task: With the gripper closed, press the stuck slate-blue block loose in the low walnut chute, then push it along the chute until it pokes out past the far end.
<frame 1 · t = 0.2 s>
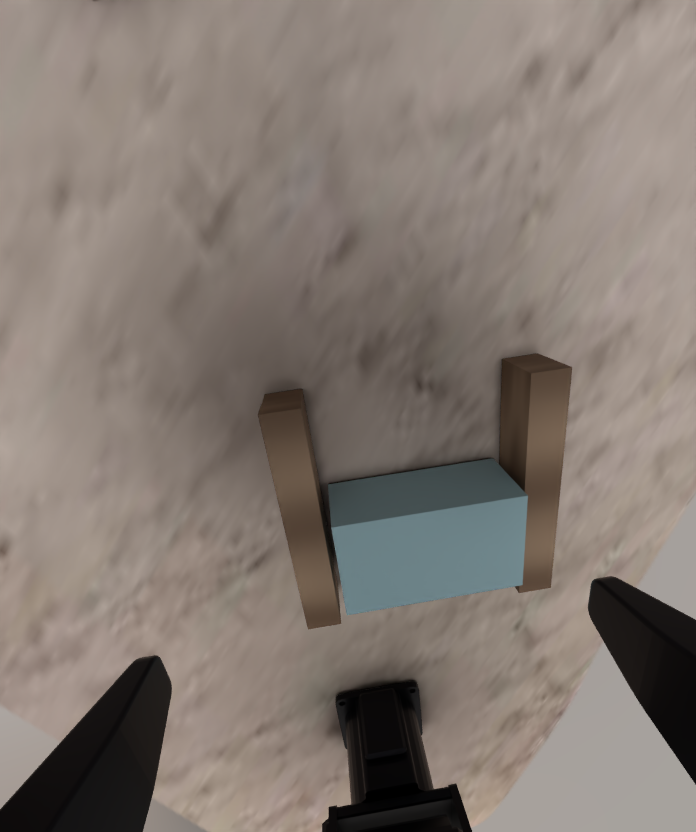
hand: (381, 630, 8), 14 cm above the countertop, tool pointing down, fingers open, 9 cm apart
walnut chute: (411, 483, 23), on the countertop
slate-blue block: (422, 533, 22), point 2 cm above the countertop, slide at 0.0 cm
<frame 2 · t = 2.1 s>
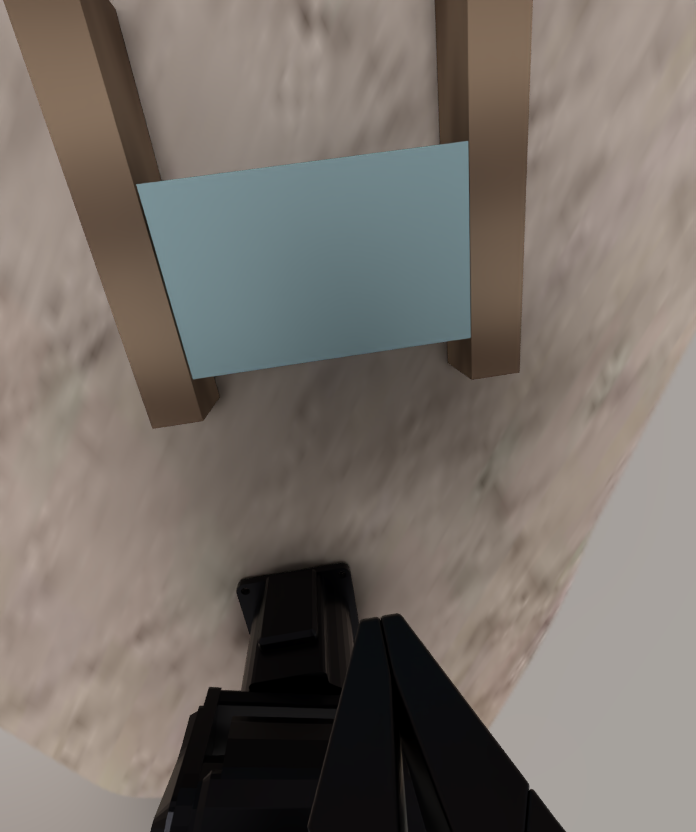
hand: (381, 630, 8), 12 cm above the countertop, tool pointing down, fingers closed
walnut chute: (310, 216, 16), on the countertop
slate-blue block: (319, 268, 14), point 2 cm above the countertop, slide at 0.0 cm
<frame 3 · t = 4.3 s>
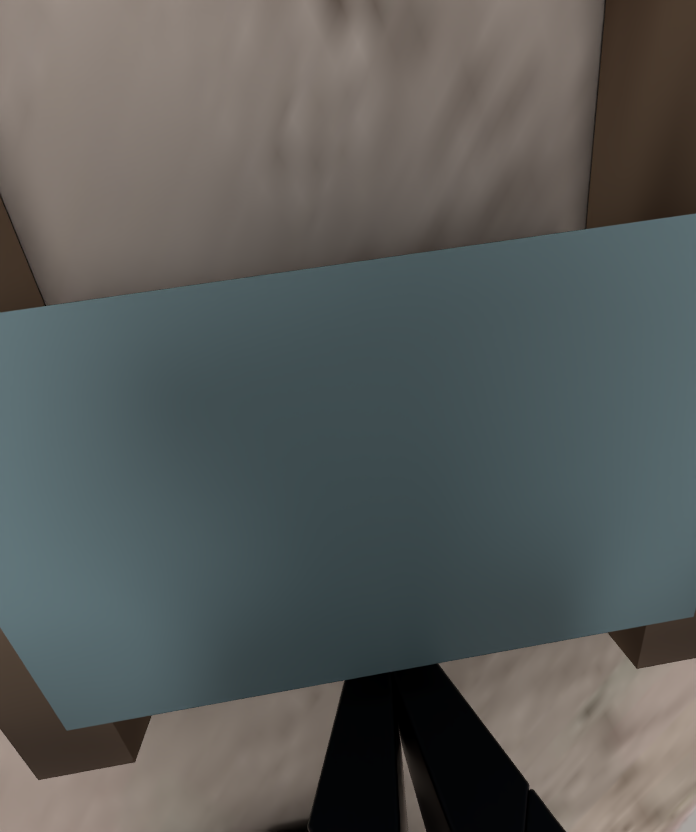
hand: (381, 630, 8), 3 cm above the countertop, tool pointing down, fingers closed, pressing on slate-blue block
walnut chute: (337, 366, 8), on the countertop
slate-blue block: (352, 446, 7), point 2 cm above the countertop, slide at 1.1 cm, touching gripper
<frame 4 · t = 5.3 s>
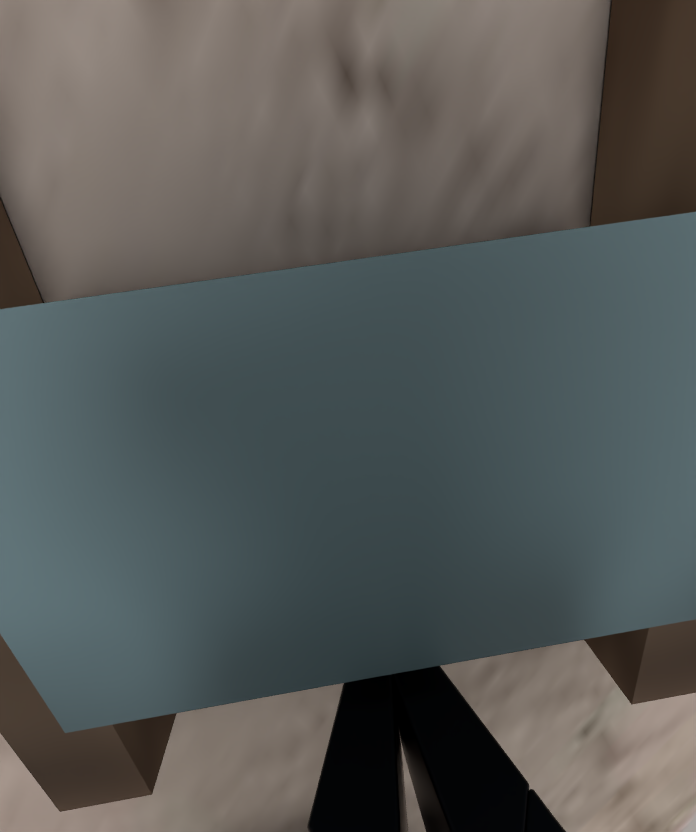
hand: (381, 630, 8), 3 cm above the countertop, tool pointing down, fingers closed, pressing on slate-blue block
walnut chute: (345, 414, 9), on the countertop
slate-blue block: (354, 446, 7), point 2 cm above the countertop, slide at 2.3 cm, touching gripper
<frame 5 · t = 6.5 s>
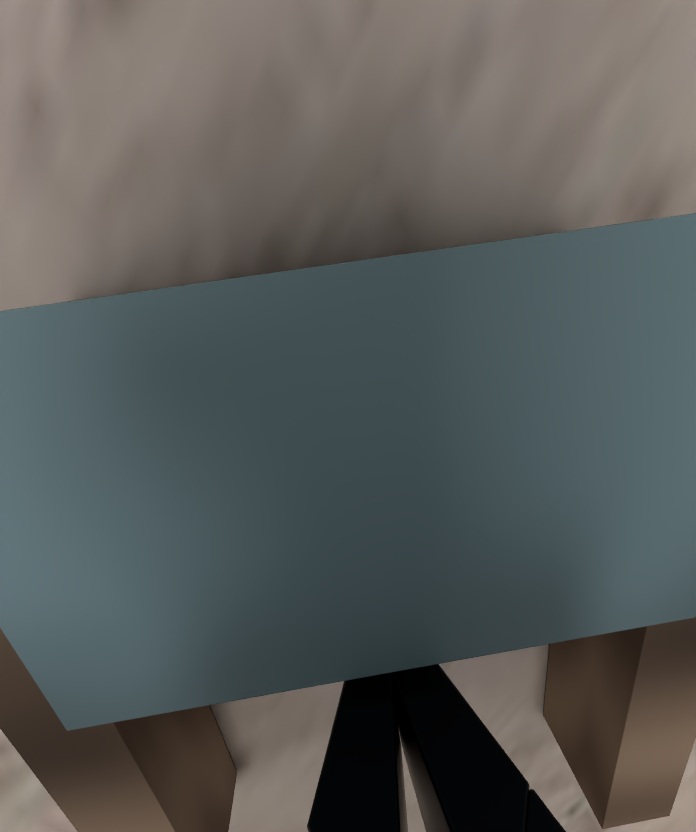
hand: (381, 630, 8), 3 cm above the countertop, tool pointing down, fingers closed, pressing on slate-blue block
walnut chute: (371, 595, 11), on the countertop
slate-blue block: (353, 446, 7), point 2 cm above the countertop, slide at 7.9 cm, touching gripper
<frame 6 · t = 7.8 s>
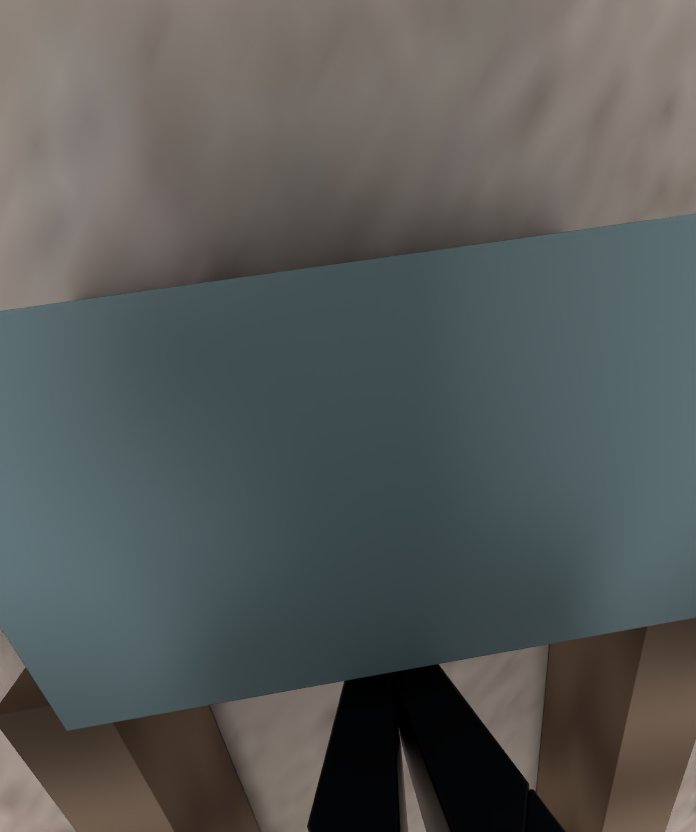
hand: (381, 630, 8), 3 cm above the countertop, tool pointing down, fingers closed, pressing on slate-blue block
walnut chute: (387, 710, 13), on the countertop
slate-blue block: (353, 446, 7), point 2 cm above the countertop, slide at 13.0 cm, touching gripper
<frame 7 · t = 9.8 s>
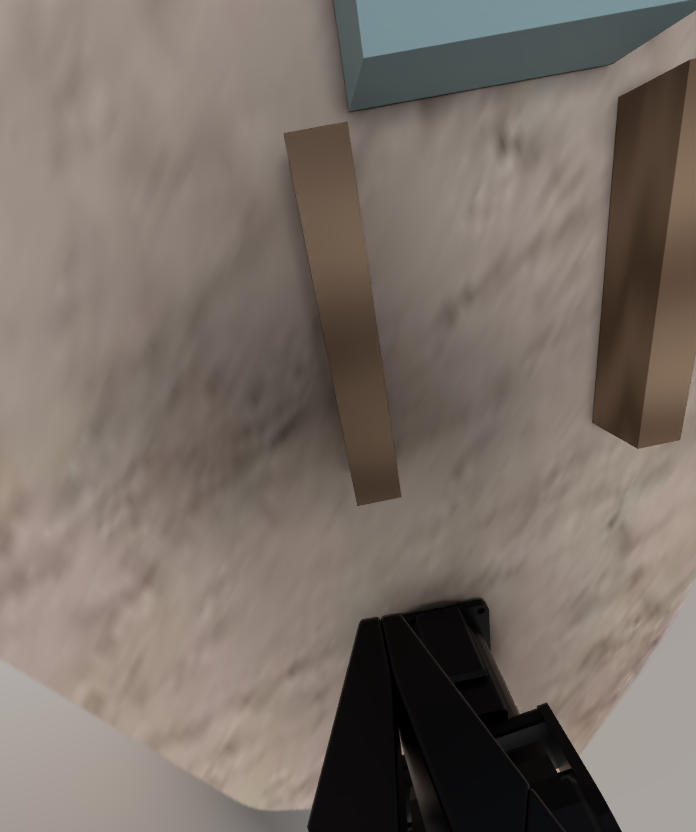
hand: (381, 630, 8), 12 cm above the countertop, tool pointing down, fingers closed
walnut chute: (486, 307, 17), on the countertop
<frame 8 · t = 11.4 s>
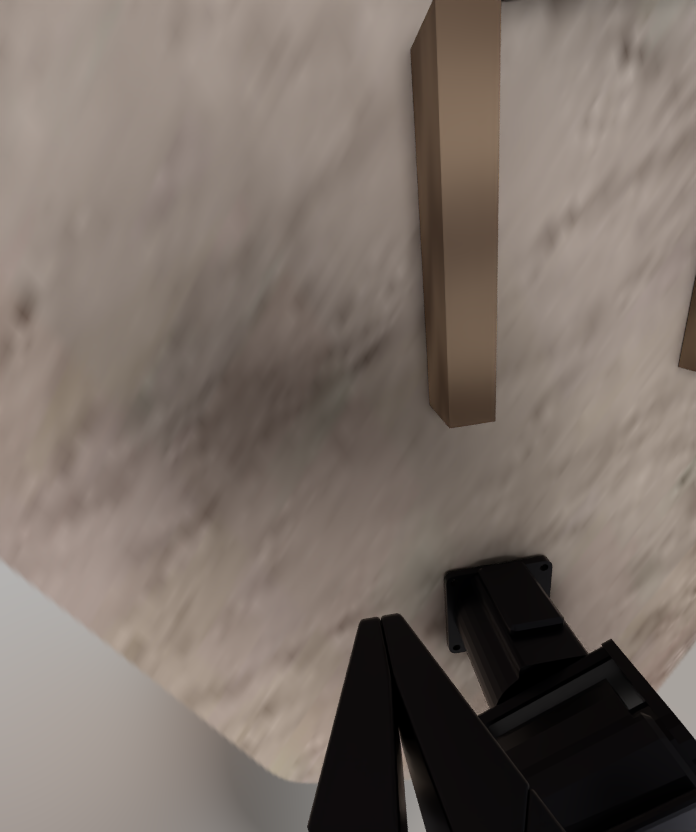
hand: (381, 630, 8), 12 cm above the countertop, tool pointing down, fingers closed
walnut chute: (588, 231, 17), on the countertop
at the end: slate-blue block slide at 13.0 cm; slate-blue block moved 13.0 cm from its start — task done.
